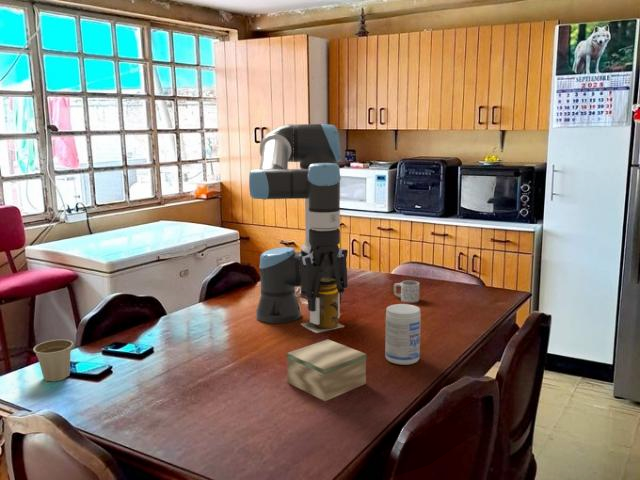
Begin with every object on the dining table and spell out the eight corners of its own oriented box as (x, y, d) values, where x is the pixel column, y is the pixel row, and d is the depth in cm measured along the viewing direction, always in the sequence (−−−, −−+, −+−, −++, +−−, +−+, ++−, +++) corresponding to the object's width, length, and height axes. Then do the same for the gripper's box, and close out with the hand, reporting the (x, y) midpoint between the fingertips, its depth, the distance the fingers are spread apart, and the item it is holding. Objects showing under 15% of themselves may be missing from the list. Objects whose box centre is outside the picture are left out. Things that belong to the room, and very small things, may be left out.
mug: (421, 299, 220) (422, 282, 219) (414, 303, 215) (415, 286, 214) (397, 295, 226) (397, 278, 224) (389, 299, 220) (390, 282, 219)
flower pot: (51, 388, 148) (47, 355, 146) (29, 379, 153) (25, 348, 151) (83, 374, 156) (80, 343, 154) (61, 367, 161) (58, 337, 159)
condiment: (345, 327, 145) (345, 279, 143) (316, 333, 141) (316, 285, 138) (328, 319, 151) (328, 273, 149) (300, 325, 147) (299, 278, 144)
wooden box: (287, 382, 150) (286, 352, 148) (327, 367, 159) (327, 339, 158) (324, 401, 140) (324, 369, 138) (366, 383, 149) (366, 353, 148)
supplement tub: (416, 367, 159) (418, 315, 156) (381, 363, 161) (382, 312, 159) (421, 354, 168) (423, 304, 165) (388, 351, 170) (389, 302, 168)
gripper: (304, 235, 133) (305, 333, 137) (363, 225, 145) (362, 315, 150) (283, 231, 138) (285, 325, 143) (342, 221, 151) (342, 308, 155)
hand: (324, 319), depth 146 cm, fingers closed on condiment, 6 cm apart
